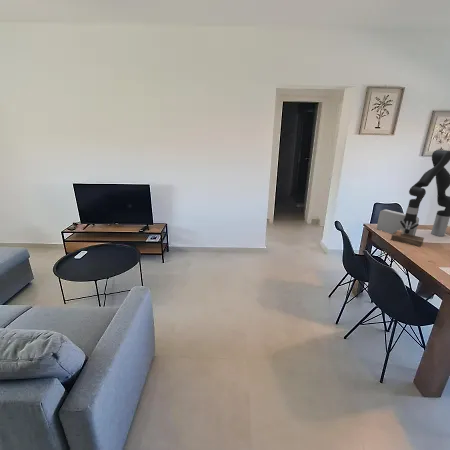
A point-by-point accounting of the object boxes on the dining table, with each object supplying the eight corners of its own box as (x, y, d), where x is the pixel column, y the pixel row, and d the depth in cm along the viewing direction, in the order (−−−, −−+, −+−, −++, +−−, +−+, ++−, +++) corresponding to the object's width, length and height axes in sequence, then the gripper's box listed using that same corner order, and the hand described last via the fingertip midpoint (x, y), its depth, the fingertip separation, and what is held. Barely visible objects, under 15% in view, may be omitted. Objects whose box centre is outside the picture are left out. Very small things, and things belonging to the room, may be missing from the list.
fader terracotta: (396, 234, 223) (397, 230, 222) (401, 235, 221) (402, 231, 220) (396, 235, 221) (397, 231, 220) (400, 236, 219) (401, 231, 218)
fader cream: (399, 232, 227) (400, 228, 225) (403, 233, 225) (404, 229, 224) (398, 233, 224) (399, 229, 223) (403, 234, 223) (404, 230, 221)
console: (394, 235, 231) (395, 231, 230) (422, 242, 219) (424, 237, 218) (390, 239, 222) (392, 235, 221) (420, 246, 210) (421, 241, 209)
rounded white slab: (415, 237, 229) (421, 216, 223) (411, 239, 225) (417, 218, 219) (380, 227, 251) (384, 208, 245) (376, 229, 246) (380, 209, 240)
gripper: (422, 213, 215) (417, 234, 221) (403, 210, 223) (398, 230, 229) (421, 215, 210) (415, 236, 215) (401, 211, 218) (396, 232, 223)
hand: (406, 233), depth 222 cm, fingers closed
